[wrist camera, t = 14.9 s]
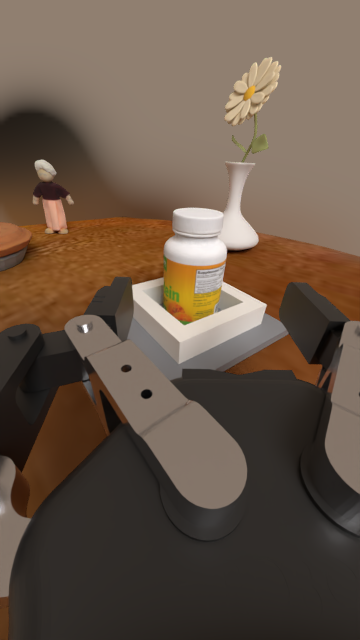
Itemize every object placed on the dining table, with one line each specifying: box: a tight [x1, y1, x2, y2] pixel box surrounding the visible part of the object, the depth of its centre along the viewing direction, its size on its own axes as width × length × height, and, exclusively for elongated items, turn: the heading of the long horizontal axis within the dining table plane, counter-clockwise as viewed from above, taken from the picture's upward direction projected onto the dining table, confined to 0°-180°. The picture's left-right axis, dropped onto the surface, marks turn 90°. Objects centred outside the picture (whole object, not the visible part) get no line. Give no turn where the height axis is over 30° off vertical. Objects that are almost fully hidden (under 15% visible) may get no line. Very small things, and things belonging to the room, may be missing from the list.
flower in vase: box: [218, 57, 281, 250], centre depth 39 cm, size 13×11×25 cm
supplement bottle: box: [163, 208, 227, 325], centre depth 21 cm, size 5×5×10 cm
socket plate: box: [127, 278, 288, 381], centre depth 24 cm, size 14×14×3 cm
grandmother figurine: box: [33, 160, 74, 234], centre depth 46 cm, size 8×4×13 cm, turn 105°
